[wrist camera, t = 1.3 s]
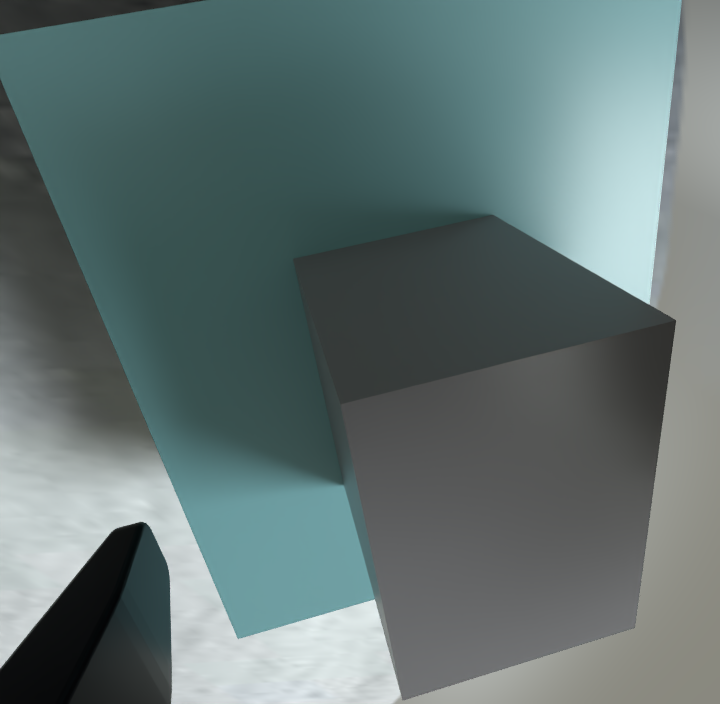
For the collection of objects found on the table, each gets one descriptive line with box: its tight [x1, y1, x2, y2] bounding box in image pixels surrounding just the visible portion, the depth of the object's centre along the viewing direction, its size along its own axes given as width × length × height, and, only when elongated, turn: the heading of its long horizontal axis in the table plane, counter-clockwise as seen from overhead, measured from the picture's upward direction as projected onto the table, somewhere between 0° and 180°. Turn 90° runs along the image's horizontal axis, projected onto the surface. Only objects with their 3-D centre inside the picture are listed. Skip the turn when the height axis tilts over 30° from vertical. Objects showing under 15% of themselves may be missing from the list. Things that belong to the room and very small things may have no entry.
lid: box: [0, 0, 682, 700], centre depth 9 cm, size 12×10×6 cm
